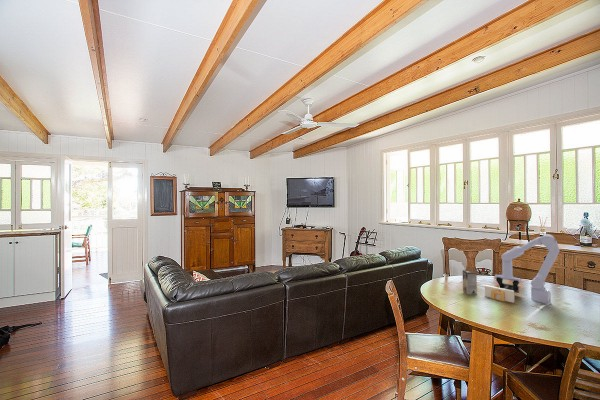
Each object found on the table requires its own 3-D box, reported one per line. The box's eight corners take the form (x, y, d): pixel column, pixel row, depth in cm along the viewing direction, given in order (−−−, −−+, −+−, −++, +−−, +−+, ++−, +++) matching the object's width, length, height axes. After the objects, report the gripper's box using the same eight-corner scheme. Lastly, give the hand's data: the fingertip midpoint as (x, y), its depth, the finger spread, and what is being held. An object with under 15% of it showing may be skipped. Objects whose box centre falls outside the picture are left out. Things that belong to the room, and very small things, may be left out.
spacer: (504, 303, 184) (504, 292, 184) (503, 303, 183) (503, 292, 184) (492, 300, 190) (492, 289, 190) (491, 300, 189) (491, 290, 189)
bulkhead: (514, 304, 182) (514, 290, 182) (513, 305, 181) (513, 291, 181) (486, 297, 195) (486, 285, 195) (484, 298, 194) (484, 285, 194)
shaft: (519, 292, 194) (519, 285, 194) (509, 297, 184) (509, 290, 184) (500, 288, 203) (500, 282, 203) (490, 293, 193) (489, 286, 193)
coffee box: (462, 292, 208) (462, 269, 208) (472, 292, 206) (471, 270, 206) (467, 296, 199) (466, 272, 199) (477, 296, 197) (477, 273, 197)
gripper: (492, 269, 200) (493, 288, 200) (518, 273, 188) (518, 294, 188) (497, 267, 204) (497, 287, 204) (521, 271, 193) (522, 292, 193)
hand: (507, 290), depth 197 cm, fingers open, 7 cm apart
